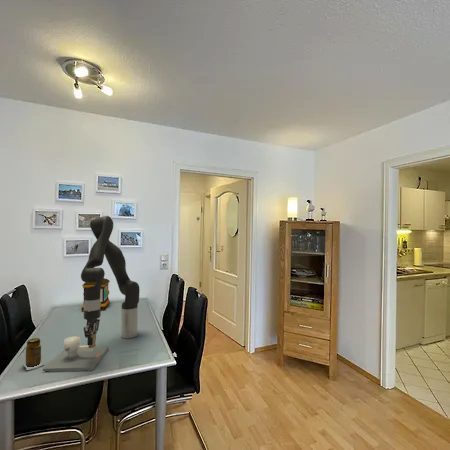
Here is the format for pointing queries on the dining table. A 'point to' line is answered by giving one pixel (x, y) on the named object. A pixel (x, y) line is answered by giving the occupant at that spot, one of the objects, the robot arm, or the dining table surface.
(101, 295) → the decorative lantern
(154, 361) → the dining table surface
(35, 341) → the condiment
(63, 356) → the board
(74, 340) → the cream maraca
